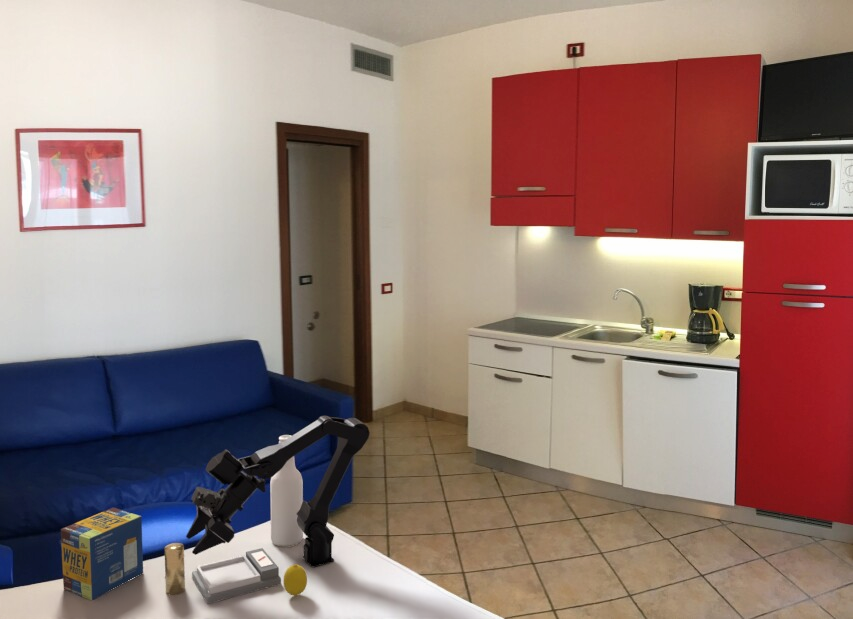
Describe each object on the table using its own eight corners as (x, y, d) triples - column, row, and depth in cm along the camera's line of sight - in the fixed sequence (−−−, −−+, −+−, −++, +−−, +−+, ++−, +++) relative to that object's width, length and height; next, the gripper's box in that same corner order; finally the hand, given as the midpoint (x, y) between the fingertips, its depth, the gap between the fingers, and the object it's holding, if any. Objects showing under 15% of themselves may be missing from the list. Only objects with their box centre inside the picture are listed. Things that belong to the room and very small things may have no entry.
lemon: (302, 603, 169) (301, 571, 168) (279, 600, 170) (279, 568, 169) (310, 591, 174) (310, 560, 173) (288, 588, 176) (288, 557, 175)
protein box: (62, 590, 173) (59, 528, 171) (116, 563, 187) (114, 506, 185) (91, 601, 168) (88, 538, 166) (144, 573, 182) (142, 514, 180)
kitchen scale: (192, 577, 180) (191, 561, 179) (262, 560, 189) (261, 545, 189) (207, 603, 168) (207, 586, 168) (281, 584, 178) (280, 567, 177)
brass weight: (182, 583, 177) (181, 541, 176) (186, 591, 173) (185, 548, 172) (164, 588, 175) (162, 545, 173) (168, 596, 171) (166, 552, 170)
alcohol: (307, 543, 200) (307, 438, 196) (277, 550, 195) (276, 443, 192) (295, 531, 207) (295, 430, 204) (266, 538, 203) (265, 434, 199)
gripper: (205, 463, 183) (160, 512, 179) (219, 489, 166) (170, 543, 163) (236, 489, 187) (193, 536, 184) (253, 516, 171) (206, 569, 167)
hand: (190, 545), depth 174 cm, fingers open, 9 cm apart
